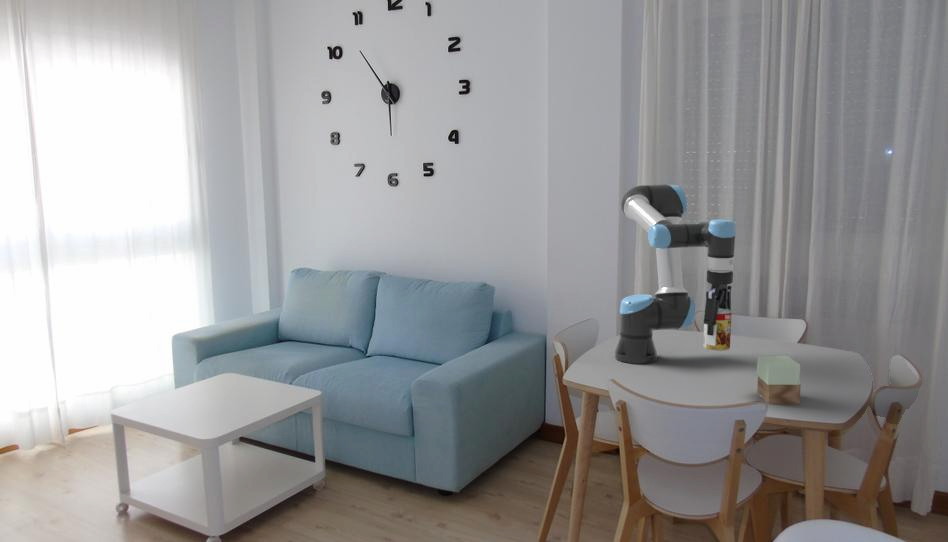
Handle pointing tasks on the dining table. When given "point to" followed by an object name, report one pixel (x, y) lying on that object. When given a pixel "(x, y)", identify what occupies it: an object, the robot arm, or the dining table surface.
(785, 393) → the walnut block
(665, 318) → the robot arm
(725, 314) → the canned food
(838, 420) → the dining table surface
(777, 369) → the sage block
